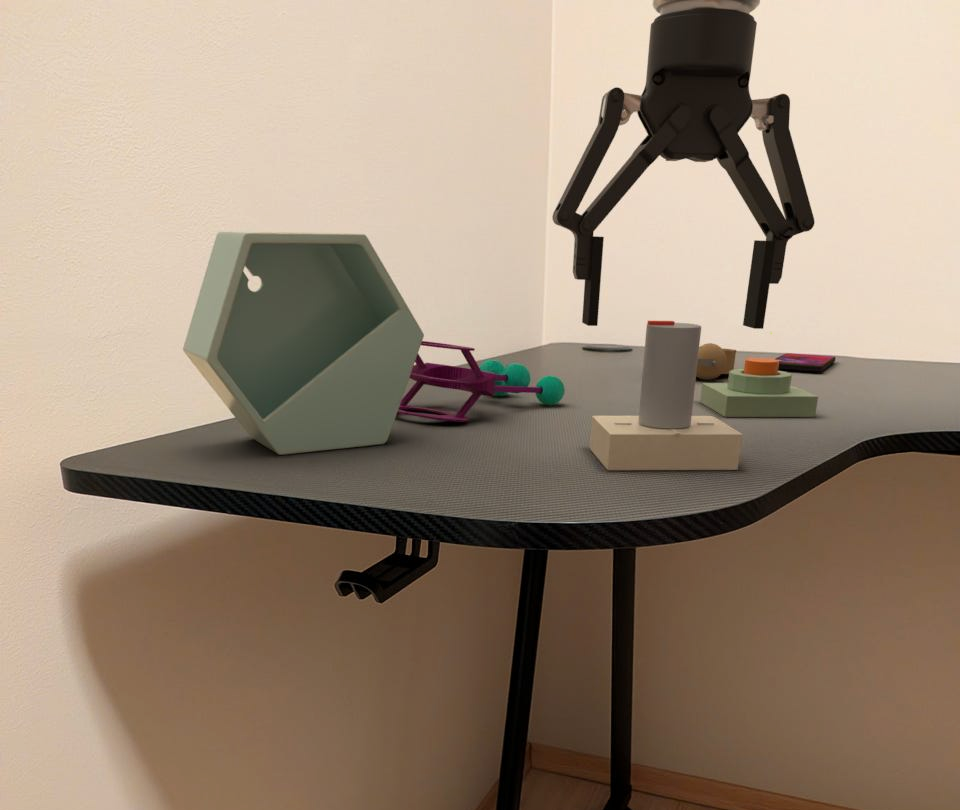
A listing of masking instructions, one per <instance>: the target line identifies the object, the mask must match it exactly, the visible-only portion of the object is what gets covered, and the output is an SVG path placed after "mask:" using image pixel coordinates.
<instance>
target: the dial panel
mask: <svg viewBox="0 0 960 810" xmlns="http://www.w3.org/2000/svg"><path fill="white" fill-rule="evenodd" d="M638 420H639V415H592V416H591V427H590V443H589V450H590V451H591V452H592V453H593V454H594V456H595V457H596V458H597V459H598V461H599V462H600V463H601V464H602V465H603V467H604V468H605V469H606V470H607V471H739V464H740V457H741V449H742V443H743V442H742V441H743V433H741V432H739V431H738V430H736V429H735V428H733V427H731V426H730V425H728V424H727V423H725V422H723V421H722V420H721V419H718V418H717V417H715V416H714V415H692V417H691V425H690V426H689V427H686V428H679V429H662V428H653V427H647V426H643V425H641V424H639V422H638Z"/></svg>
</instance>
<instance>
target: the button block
mask: <svg viewBox="0 0 960 810" xmlns="http://www.w3.org/2000/svg"><path fill="white" fill-rule="evenodd" d="M792 377H793V374H792V373H791V372H788V371H783V370H778V374H777V375H773V376H762V375H750V374H744V368H734V370H731V371H730V372H729V374H728V378H727V382H702V383H701V392H700V401H699V402H700V403H701V404H702V405H704V406H705V407H707V408H709V409H711V410H713V411H714V412H716V413H717V414H719V415H721V416H722V417H724V418H815V417H816V413H817V406H818V401H819V396H818V395H816V394H814V393H811V392H808V391H806V390H803V389H801V388H799V387H796V386H795V385H792Z"/></svg>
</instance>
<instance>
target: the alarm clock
mask: <svg viewBox="0 0 960 810" xmlns="http://www.w3.org/2000/svg"><path fill="white" fill-rule="evenodd" d="M737 351H738V350H737V349H733V348H722V347H721V346H720V345H718V344H716V343H712V342H710V343H704V344H702V345H699V353H698V363H697V372H696V378H698V379H699V380H703V381H711V380H712V381H713V380H715V379H716V378H718V377H720V376H721V375H729V372H730V371H731V370H734V369H735V363H736V362H735V361H736V354H737Z"/></svg>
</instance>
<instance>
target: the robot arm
mask: <svg viewBox="0 0 960 810" xmlns="http://www.w3.org/2000/svg"><path fill="white" fill-rule="evenodd" d="M760 3H761V0H652V7H653V9H654V11H656V12H657V13H658V14H659V15H658V16H657V17H655V19H653V22H651V24H650V28H649V29H650V31H649V41H648V52H647V65H646V77H645V84H644V88H643V91H642V93H641V95H640V94H634V93H629V92H624V90H623V89H622V88H621V87H612V88H611V89H609V90H608V91H607V92H606V93H604V95H603V96H602V97H601V98H602V99H601V104H600V110H599V116H598V122H597V126H596V128H595V129H594V131H593V134H592V136H591V138H590V140H589V141H588V144H587V145H586V147H585V149H584V152H583V153H582V154H581V155H582V156H581V158H580V159H579V161H578V164H577V165H576V167H575V169H574V171H573V173H572V175H571V177H570V179H569V180H568V183H567V185H566V186H565V188H564V191H563V193H562V195H561V197H560V199H559V201H558V203H557V205H556V207H555V209H554V211H553V213H552V217H551V218H552V222H553V223H554V224H555V225H556V226H559V227H561V228H564V229H567V230H568V231H570V232H571V233H572V235H573V238H574V245H573V260H572V274H573V278H574V280H577V281H578V280H579V281H580V280H581V281H584V287H583V288H584V289H583V303H582V316H581V317H582V319H581V320H582V321H581V322H582V324H584V325H586V326H588V327H598V324H599V323H598V321H599V309H600V295H601V294H600V293H601V280H602V267H603V254H604V239H605V236H596V235H595V236H594V232H595V231H596V229H597V228H598V227H599V226H600V224H601V223H602V222H603V221H604V220H606V218H607V217H608V216H609V214H610V212H612V210H614V208H615V207H616V206H617V205H618V203H619V202H620V201H621V200H622V199H623V197H624V196H626V194H627V193H628V192H629V191H630V190H631V188H632V187H633V186H634V185H635V183H636V182H637V181H638V180H639V179H640V177H641V176H642V175H643V174H644V173H645V171H646V170H647V169H648V168H649V167H650V166H651V165H652V164H654V162H655V161H656V160H657V159H658V158H659V156H660V157H661V158H663V159H664V160H665V162H679V161H681V160H685V159H686V160H689V161H692V162H695V163H707V162H712V161H714V160H715V159H716V160H717V163H718V164H719V165H720V166H721V168H723V170H725V172H726V173H727V175H728V176H729V178H730V180H731V181H732V183H733V185H734V187H735V188H736V190H737V192H738V193H739V195H740V197H741V198H742V200H743V202H744V203H745V205H746V206H747V208H748V210H749V211H750V213H751V215H752V217H753V218H754V219H755V221H756V223H757V225H758V226H759V228H760V230H761V231H762V233H763V235H764V236H765V240H759V239H758V240H754V241H753V249H752V254H751V255H752V256H751V263H750V269H749V270H750V271H749V278H748V285H747V292H746V293H747V294H746V299H745V306H744V315H743V321H742V326H743V327H747V328H751V329H754V330H755V329H759V330H763V329H764V325H765V318H766V312H767V305H768V300H769V299H768V298H769V292H770V291H769V290H770V284H771V285H774V284H775V285H778V284H779V283H780V281H781V279H782V277H783V270H784V263H785V256H786V252H787V251H786V249H787V245H788V241H789V240H791V239H792V238H793V237H794V236H796V235H799V234H802V233H804V232H805V233H806V232H810V231H811V230H812V229H813V228H814V226H815V217H814V214H813V210H812V205H811V202H810V198H809V195H808V192H807V188H806V185H805V181H804V177H803V174H802V169H801V166H800V163H799V159H798V156H797V152H796V149H795V145H794V140H793V137H792V134H791V130H790V113H791V112H790V111H791V99H790V97H789V95H788V94H786V93H780V94H777V95H774V96H772V97H768V98H758V99H752V97H751V93H750V80H751V74H752V66H753V57H754V48H755V41H756V33H757V25H758V23H757V21H756V20H755V17H754V16H753V15H752V14H750V13H752V12H753V11H755V10H756V9H757V7H759V5H760ZM634 113H637V116H638V118H639V121H640V122H641V124H642V126H643V128H644V130H645V132H646V134H647V135H646V136H645V137H644V139H642V141H641V142H640V143H639V144H638V145H637V147H636V148H635V149H634V151H633V152H632V154H631V155H630V157H628V159H627V160H626V161H625V163H624V164H623V165H622V166H621V167H620V169H618V170H617V172H615V175H614V176H613V177H612V178H611V179H610V180H609V182H608V183H607V184H606V185H605V186H604V187H603V188H602V190H601V191H600V192H599V193H598V195H597V196H595V198H594V199H593V201H592V202H591V203H590V205H588V207H586V209H585V210H584V211H583V212H582V214H580V213H577V211H578V209H579V207H580V205H581V203H582V201H583V199H584V197H585V195H586V193H587V191H588V190H589V187H590V186H591V184H592V182H593V180H594V178H595V176H596V174H597V172H598V170H599V168H600V166H601V164H602V162H603V160H604V158H605V157H606V154H607V153H608V151H609V149H610V147H611V144H612V142H613V141H614V139H615V136H616V134H617V132H618V131H619V127H621V126H624V125H626V124H627V123H628V122H629V120H630V118H631V116H632V115H633V114H634ZM750 118H751V119H753V121H754V125H755V128H756V129H757V130H758V131H760V132H761V135H762V141H763V145H764V149H765V152H766V156H767V158H768V162H769V166H770V169H771V170H770V171H771V173H772V177H773V180H774V184H775V187H776V190H777V194H778V197H779V201H780V204H781V208H782V211H783V212H782V211H781V208H780V207H779V206H778V204H777V202H776V200H775V198H774V197H773V195H772V193H771V191H770V189H768V187H767V185H766V184H765V181H764V180H763V178H762V177H761V175H760V173H759V172H758V170H757V168H756V167H755V164H754V163H753V161H752V159H751V158H750V153H749V151H748V148H747V147H746V145H745V143H744V142H743V140H742V138H741V137H740V135H739V132H740V131H741V130H742V128H743V127H744V126H745V125H746V123H747V122H748V121H749V119H750Z"/></svg>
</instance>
